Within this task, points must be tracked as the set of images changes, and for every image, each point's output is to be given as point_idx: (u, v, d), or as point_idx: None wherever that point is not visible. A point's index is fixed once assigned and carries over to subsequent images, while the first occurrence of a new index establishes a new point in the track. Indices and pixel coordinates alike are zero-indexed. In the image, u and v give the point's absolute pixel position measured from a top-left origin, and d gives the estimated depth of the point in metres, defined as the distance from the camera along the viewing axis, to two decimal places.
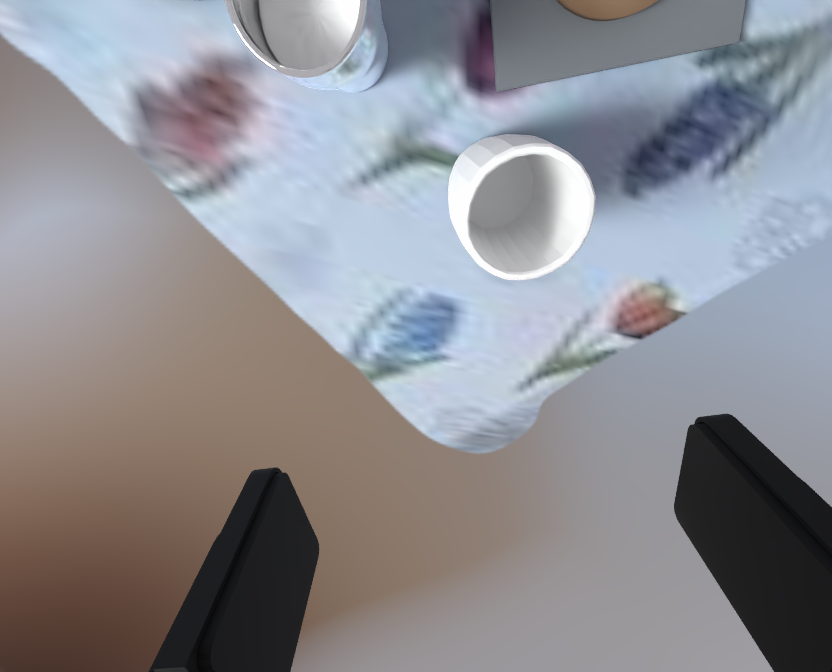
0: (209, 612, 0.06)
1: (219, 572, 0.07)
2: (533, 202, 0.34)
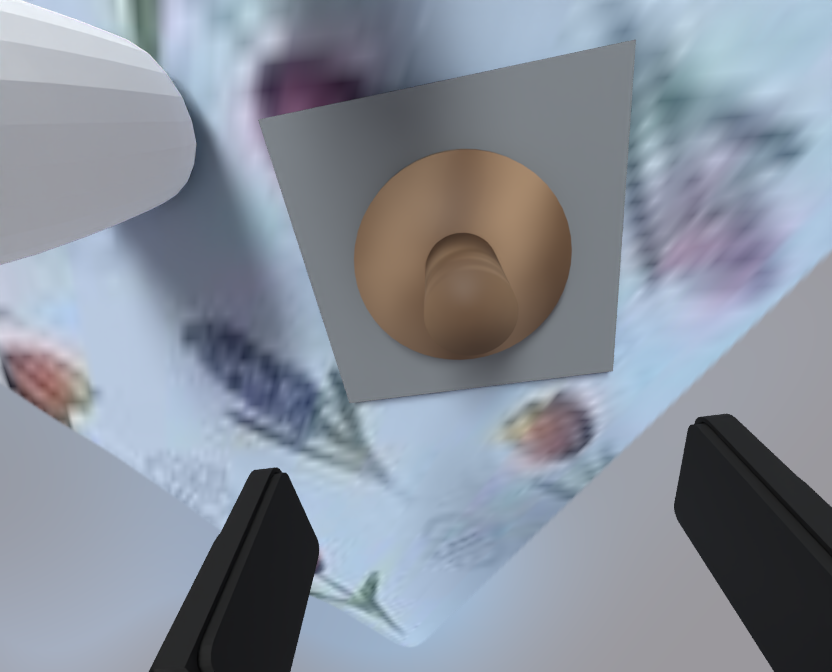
0: (208, 612, 0.06)
1: (219, 572, 0.07)
2: None
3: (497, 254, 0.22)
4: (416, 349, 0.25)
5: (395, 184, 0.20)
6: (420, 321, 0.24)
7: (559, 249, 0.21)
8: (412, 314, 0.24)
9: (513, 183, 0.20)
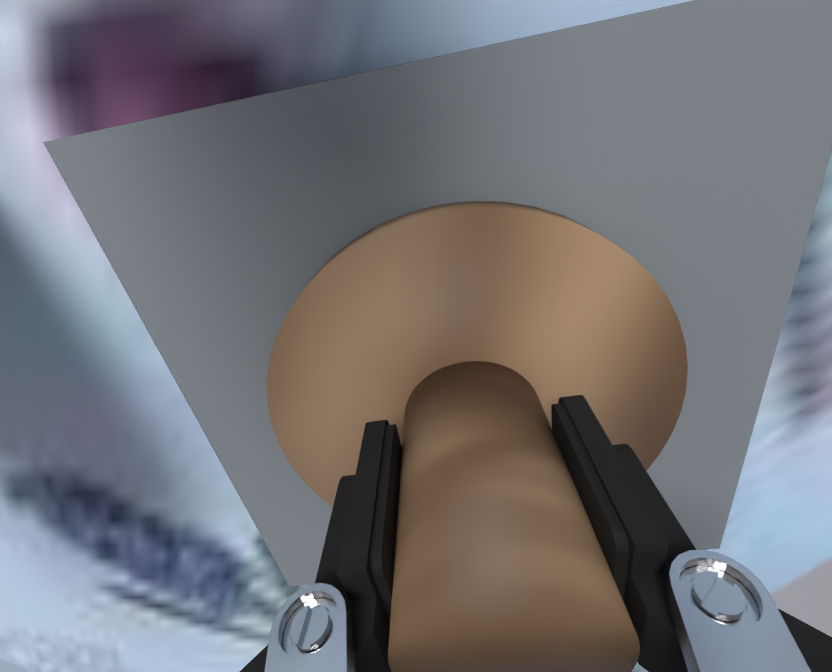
0: (371, 530, 0.07)
1: (367, 500, 0.08)
2: None
3: (541, 396, 0.11)
4: None
5: (335, 275, 0.10)
6: None
7: (662, 388, 0.11)
8: None
9: (582, 274, 0.10)
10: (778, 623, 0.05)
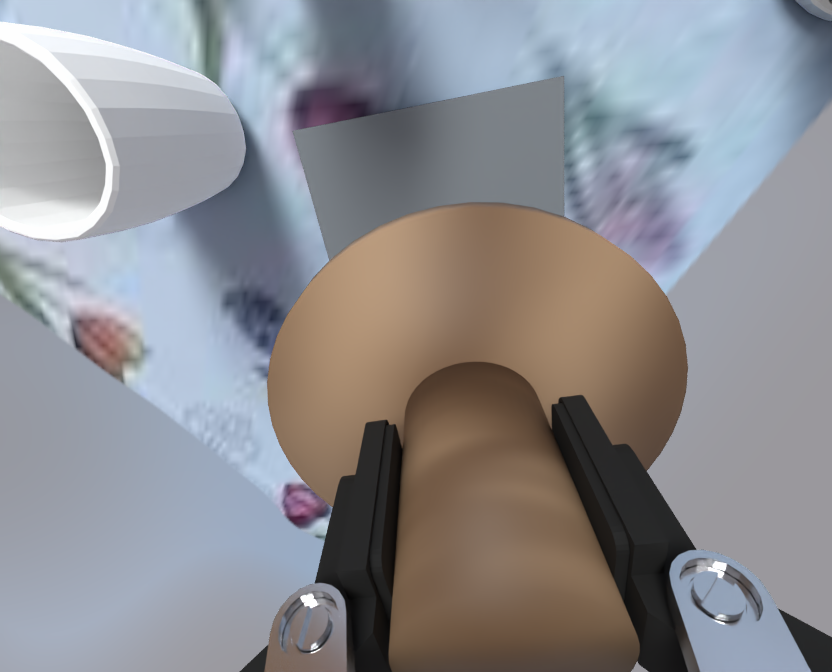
0: (371, 529, 0.07)
1: (367, 500, 0.08)
2: None
3: (541, 397, 0.11)
4: None
5: (335, 276, 0.10)
6: None
7: (662, 388, 0.11)
8: None
9: (582, 274, 0.10)
10: (778, 623, 0.05)
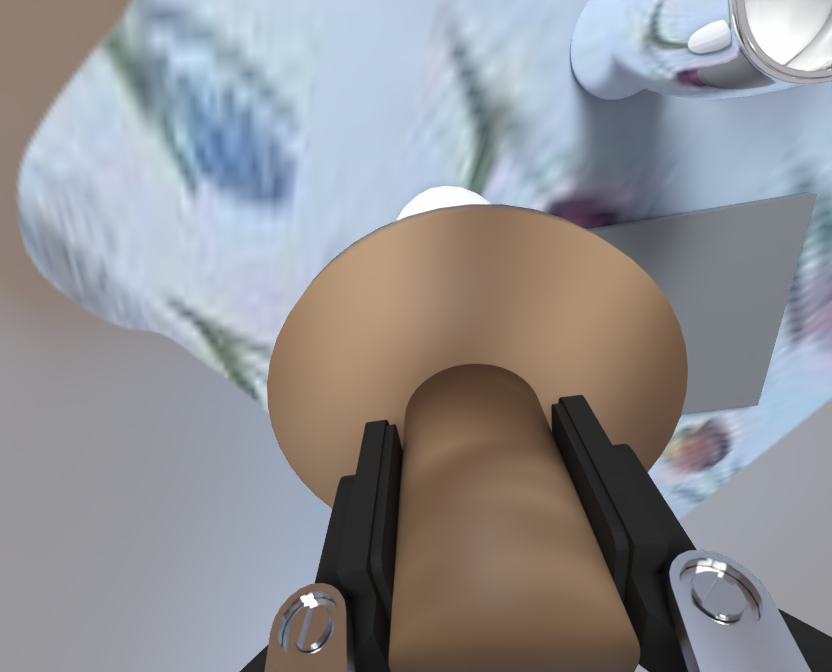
0: (371, 529, 0.07)
1: (367, 500, 0.08)
2: None
3: (542, 398, 0.11)
4: None
5: (336, 279, 0.10)
6: None
7: (662, 390, 0.11)
8: None
9: (583, 277, 0.10)
10: (778, 623, 0.05)
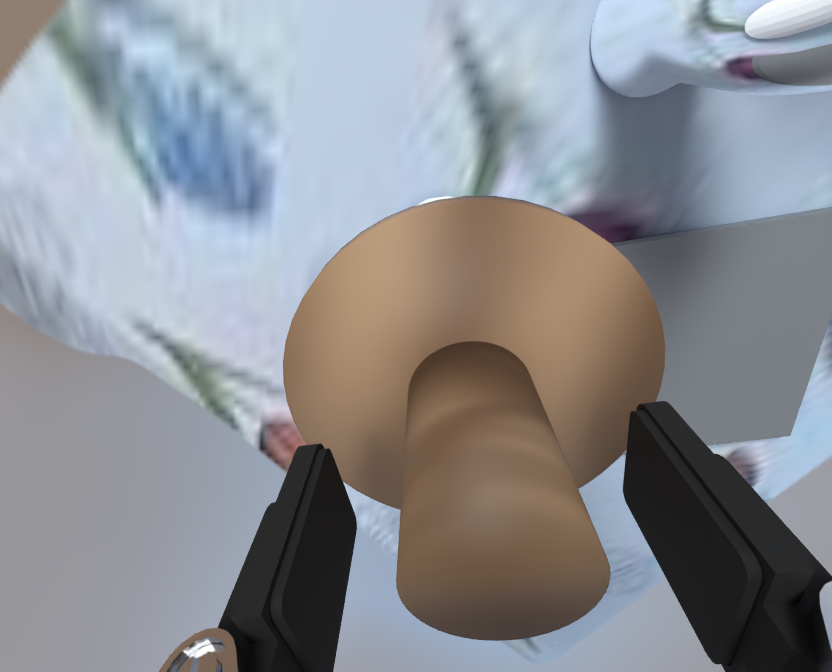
0: (276, 569, 0.07)
1: (280, 534, 0.07)
2: None
3: (533, 374, 0.12)
4: (398, 506, 0.15)
5: (346, 263, 0.11)
6: (403, 469, 0.14)
7: (642, 365, 0.12)
8: (388, 459, 0.14)
9: (567, 260, 0.11)
10: None
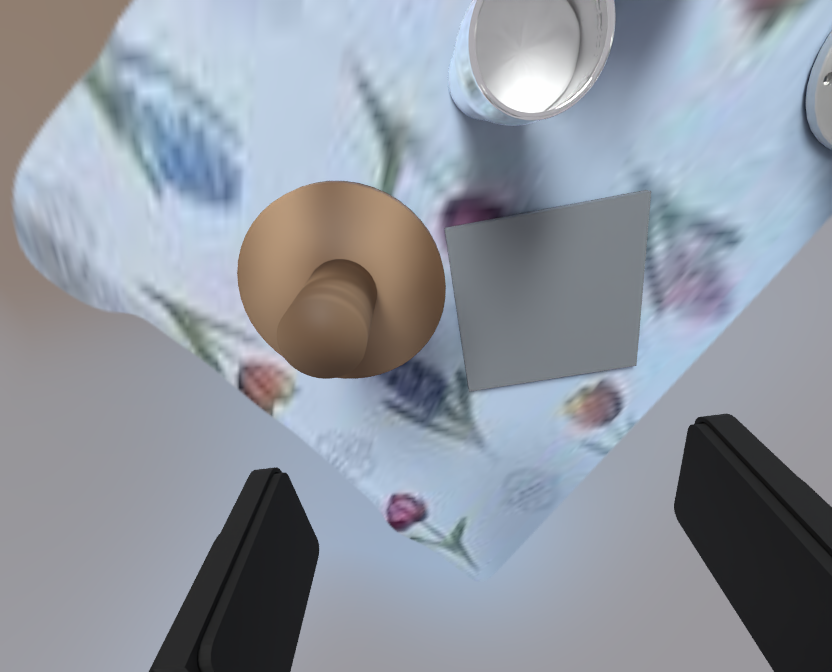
0: (208, 612, 0.06)
1: (219, 572, 0.07)
2: None
3: (374, 278, 0.23)
4: None
5: (267, 215, 0.21)
6: None
7: (432, 272, 0.23)
8: None
9: (379, 213, 0.21)
10: None
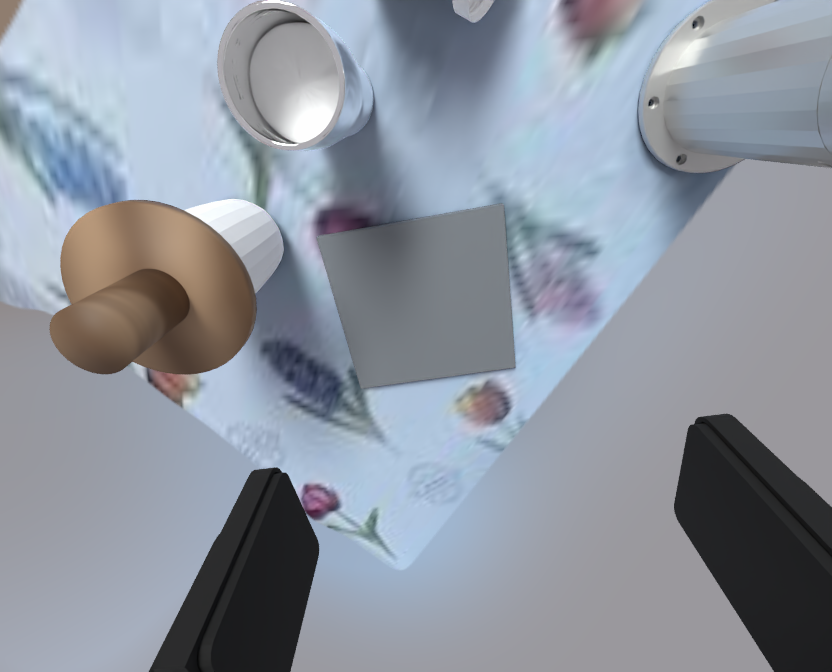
0: (208, 613, 0.06)
1: (219, 572, 0.07)
2: None
3: (184, 286, 0.26)
4: (146, 365, 0.29)
5: (77, 229, 0.24)
6: None
7: (233, 281, 0.25)
8: None
9: (174, 229, 0.24)
10: None
